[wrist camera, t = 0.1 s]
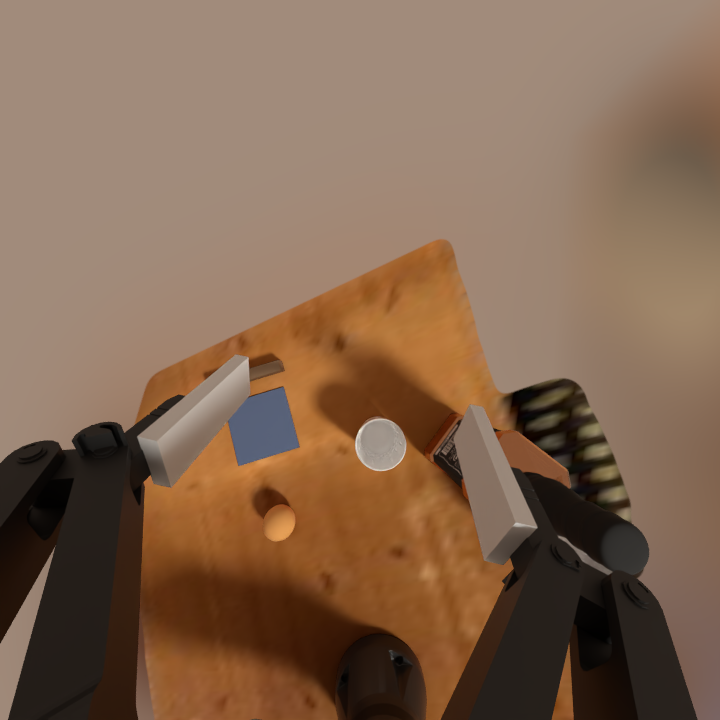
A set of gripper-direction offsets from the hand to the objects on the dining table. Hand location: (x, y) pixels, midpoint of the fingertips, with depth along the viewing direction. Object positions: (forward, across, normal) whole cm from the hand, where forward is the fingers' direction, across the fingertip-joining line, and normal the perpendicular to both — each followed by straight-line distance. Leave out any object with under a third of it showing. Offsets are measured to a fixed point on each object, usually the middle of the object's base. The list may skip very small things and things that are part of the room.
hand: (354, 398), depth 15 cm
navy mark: (+23, +17, +29) cm, 41 cm away
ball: (+12, +9, +40) cm, 42 cm away
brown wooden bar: (+28, +22, +22) cm, 42 cm away
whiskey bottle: (+26, -21, +26) cm, 42 cm away
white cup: (+25, -5, +27) cm, 37 cm away
